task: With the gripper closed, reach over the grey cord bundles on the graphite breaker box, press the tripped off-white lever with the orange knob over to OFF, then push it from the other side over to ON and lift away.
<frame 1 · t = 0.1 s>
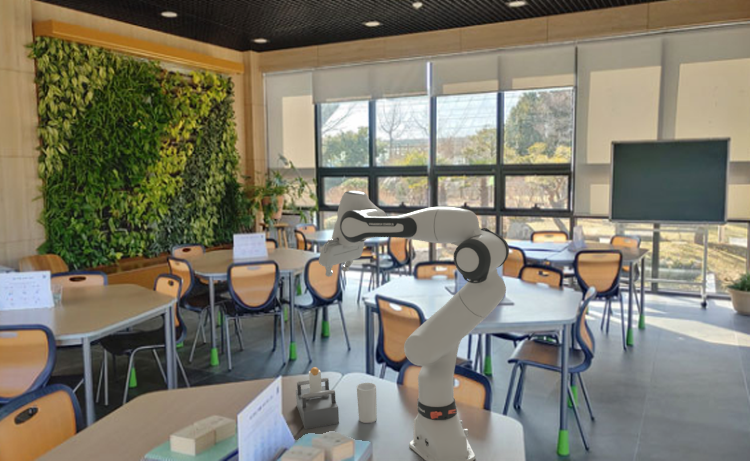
hand: (337, 273, 195), 52 cm above the table, tool tilted 20°, fingers open, 8 cm apart
breaker box: (317, 414, 204), on the table
lever: (315, 382, 203), point 12 cm above the table, hinge at 0.0°
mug: (368, 417, 200), on the table
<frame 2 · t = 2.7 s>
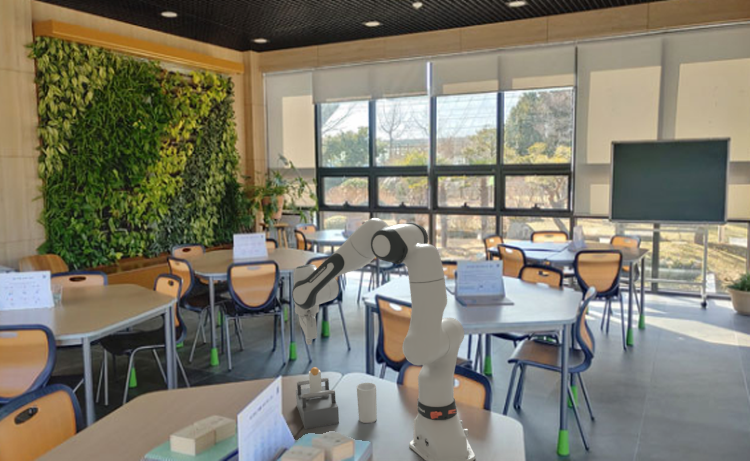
hand: (308, 343, 211), 23 cm above the table, tool pointing down, fingers closed
nothing on the table moved.
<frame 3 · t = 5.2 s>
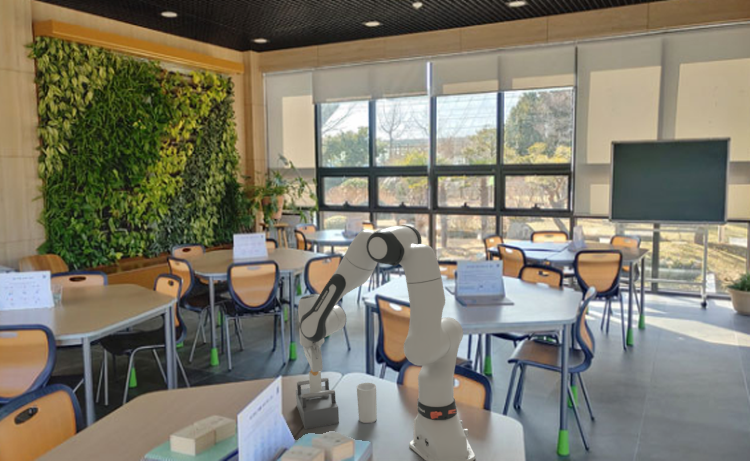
hand: (313, 375, 206), 13 cm above the table, tool pointing down, fingers closed
lever: (315, 382, 203), point 12 cm above the table, hinge at -0.8°, touching gripper
everything else where it was.
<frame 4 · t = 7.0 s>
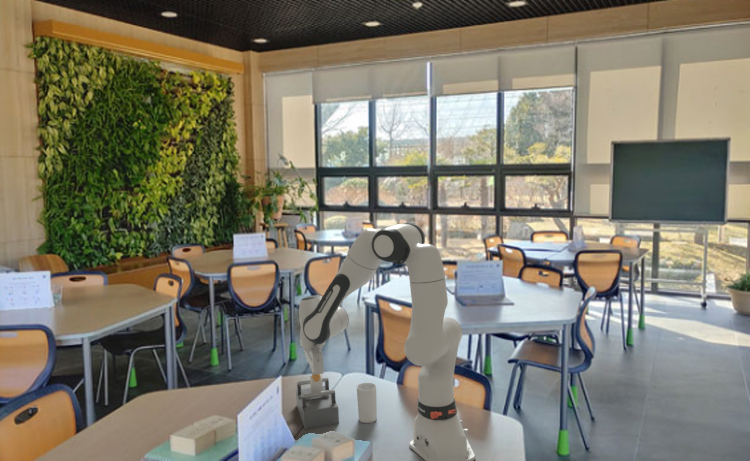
hand: (314, 377, 202), 14 cm above the table, tool pointing down, fingers closed
lever: (316, 385, 201), point 11 cm above the table, hinge at -24.4°
everything else where it was.
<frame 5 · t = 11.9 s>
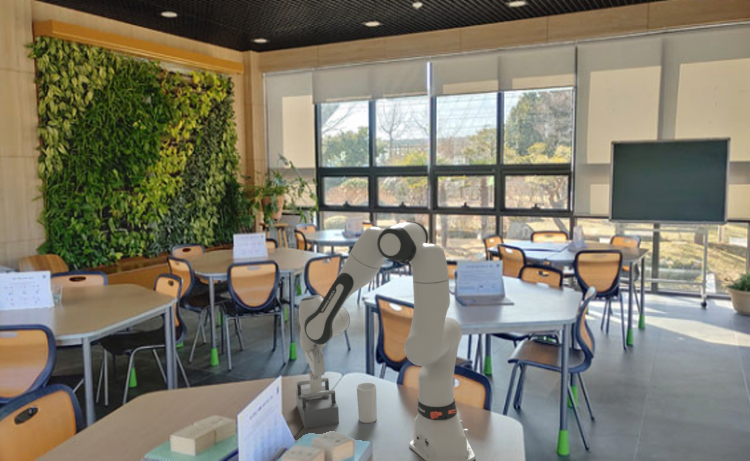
hand: (315, 379, 199), 15 cm above the table, tool pointing down, fingers closed, pressing on lever
lever: (315, 383, 202), point 12 cm above the table, hinge at -9.3°, touching gripper
everything else where it was.
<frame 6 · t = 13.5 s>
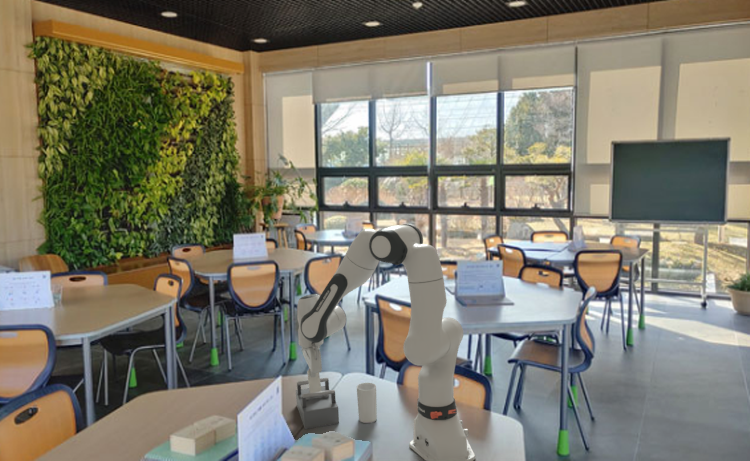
hand: (312, 375, 204), 14 cm above the table, tool pointing down, fingers closed
lever: (314, 381, 205), point 11 cm above the table, hinge at 27.2°, touching gripper
everything else where it was.
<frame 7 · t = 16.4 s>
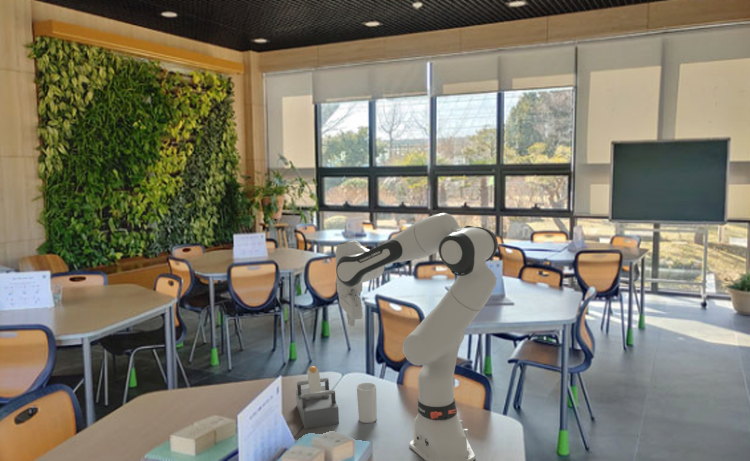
hand: (351, 325, 198), 33 cm above the table, tool pointing down, fingers closed
lever: (314, 381, 205), point 11 cm above the table, hinge at 27.3°
everything else where it was.
at the end: lever at +27° (first picture: +0°); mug moved 0.2 cm from its start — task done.
